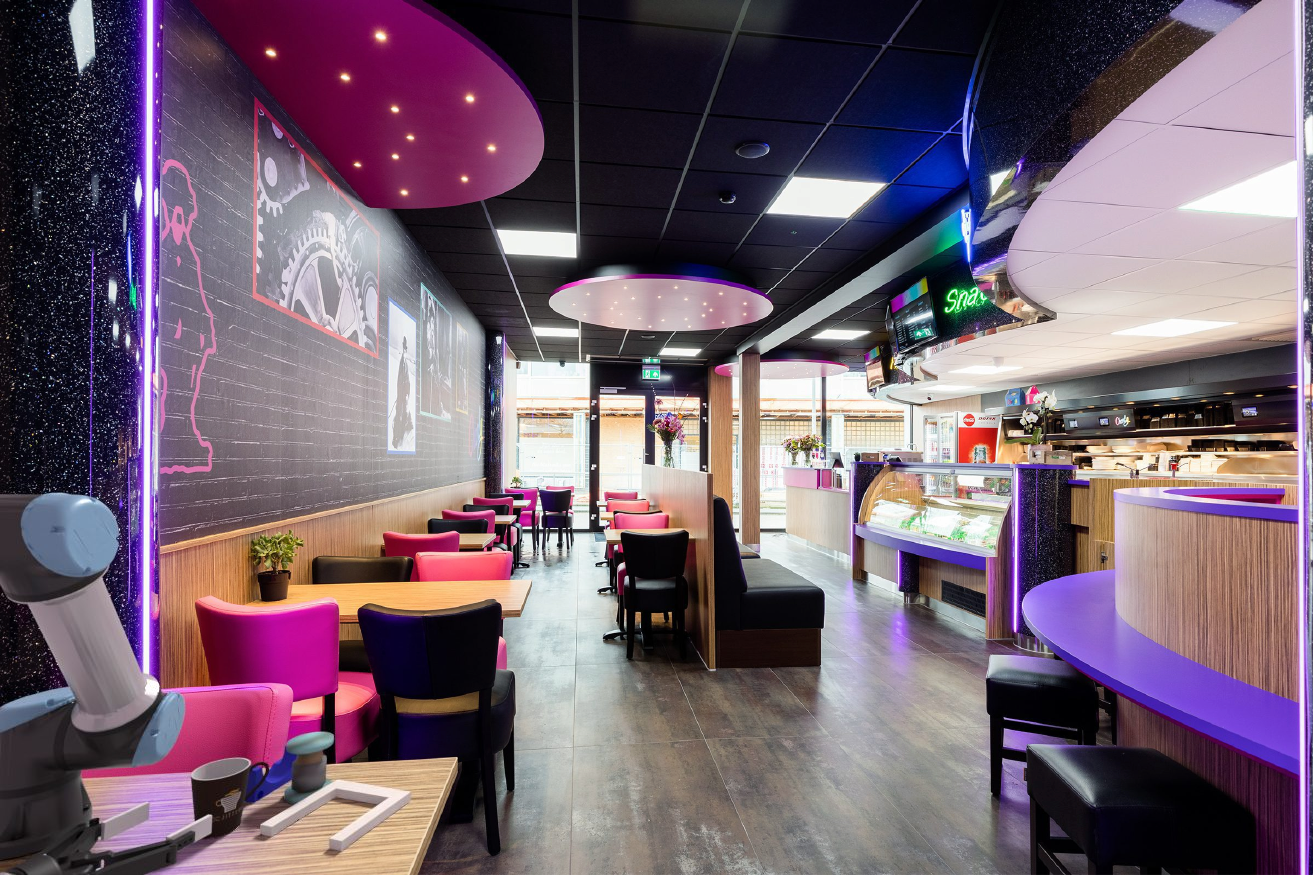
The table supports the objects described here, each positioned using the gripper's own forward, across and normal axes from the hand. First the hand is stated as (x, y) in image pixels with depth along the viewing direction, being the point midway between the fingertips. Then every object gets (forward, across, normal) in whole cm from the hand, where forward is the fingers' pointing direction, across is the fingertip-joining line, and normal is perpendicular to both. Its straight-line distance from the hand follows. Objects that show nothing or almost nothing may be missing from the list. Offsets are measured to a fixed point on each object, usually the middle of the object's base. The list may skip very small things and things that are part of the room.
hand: (178, 816), depth 101 cm
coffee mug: (+9, 0, -6) cm, 11 cm away
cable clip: (+22, -6, -6) cm, 24 cm away
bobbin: (+22, +4, -6) cm, 23 cm away
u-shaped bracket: (+17, +16, -6) cm, 24 cm away
